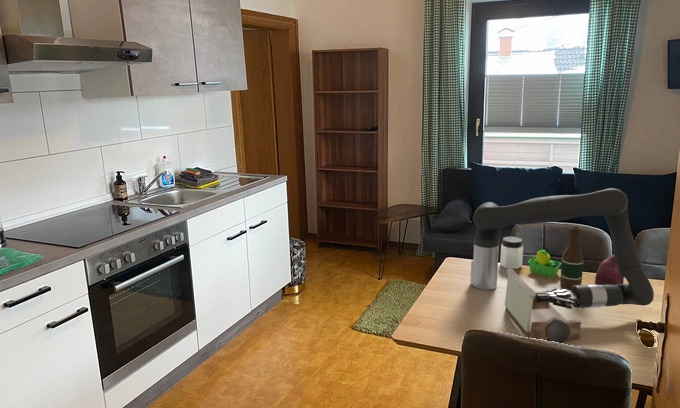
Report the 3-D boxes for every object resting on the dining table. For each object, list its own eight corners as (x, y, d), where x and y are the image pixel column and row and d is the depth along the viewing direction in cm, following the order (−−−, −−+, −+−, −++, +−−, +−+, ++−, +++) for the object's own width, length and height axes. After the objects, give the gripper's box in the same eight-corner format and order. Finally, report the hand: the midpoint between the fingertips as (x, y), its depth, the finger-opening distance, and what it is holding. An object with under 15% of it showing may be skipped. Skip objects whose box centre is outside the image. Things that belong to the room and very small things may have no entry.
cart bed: (545, 304, 181) (546, 286, 179) (582, 342, 155) (584, 321, 154) (503, 306, 181) (504, 288, 179) (534, 344, 155) (535, 323, 153)
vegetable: (624, 296, 193) (638, 265, 186) (596, 291, 195) (608, 260, 187) (617, 280, 202) (630, 249, 194) (590, 275, 204) (602, 245, 196)
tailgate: (509, 305, 177) (513, 268, 173) (530, 331, 158) (536, 291, 155) (503, 305, 176) (507, 268, 173) (524, 331, 158) (529, 291, 155)
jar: (500, 268, 216) (501, 241, 213) (500, 261, 224) (501, 235, 221) (522, 270, 213) (524, 243, 210) (521, 263, 221) (523, 237, 218)
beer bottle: (555, 283, 199) (560, 225, 193) (574, 282, 200) (579, 224, 194) (565, 291, 191) (571, 231, 186) (585, 290, 192) (591, 230, 186)
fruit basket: (561, 274, 208) (563, 248, 205) (552, 280, 202) (554, 254, 199) (534, 267, 216) (536, 242, 213) (524, 273, 210) (526, 247, 207)
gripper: (579, 277, 172) (529, 279, 171) (599, 294, 159) (545, 296, 159) (577, 298, 174) (527, 300, 173) (597, 315, 161) (544, 317, 160)
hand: (536, 298), depth 166 cm, fingers closed
